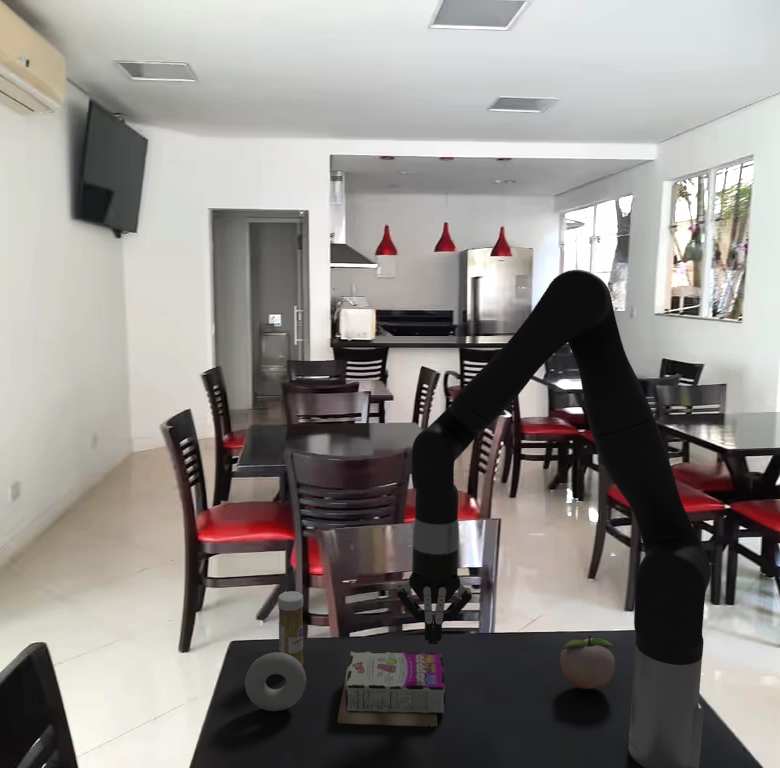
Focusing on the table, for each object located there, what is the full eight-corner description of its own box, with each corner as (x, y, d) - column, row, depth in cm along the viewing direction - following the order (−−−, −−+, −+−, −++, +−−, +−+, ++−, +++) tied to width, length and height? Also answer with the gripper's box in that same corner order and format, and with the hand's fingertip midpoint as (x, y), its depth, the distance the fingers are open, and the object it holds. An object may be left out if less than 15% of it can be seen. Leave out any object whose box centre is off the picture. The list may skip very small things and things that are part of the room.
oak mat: (435, 672, 131) (435, 670, 131) (437, 726, 115) (437, 724, 115) (347, 669, 131) (347, 667, 131) (337, 723, 116) (337, 720, 115)
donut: (244, 718, 117) (243, 660, 115) (245, 705, 120) (244, 649, 119) (306, 714, 118) (306, 657, 116) (306, 701, 121) (306, 646, 120)
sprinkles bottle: (301, 671, 130) (300, 601, 128) (276, 670, 131) (275, 600, 129) (305, 658, 135) (305, 590, 133) (281, 657, 135) (280, 589, 133)
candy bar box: (442, 678, 128) (350, 675, 129) (443, 652, 127) (350, 649, 128) (445, 716, 117) (344, 712, 118) (446, 688, 116) (344, 684, 117)
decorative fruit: (577, 708, 120) (580, 652, 119) (551, 682, 128) (554, 629, 127) (625, 698, 123) (628, 643, 122) (596, 673, 131) (599, 621, 130)
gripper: (394, 551, 115) (392, 651, 118) (477, 553, 115) (473, 655, 117) (396, 534, 123) (394, 629, 125) (474, 536, 122) (470, 632, 125)
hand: (433, 641), depth 121 cm, fingers closed
